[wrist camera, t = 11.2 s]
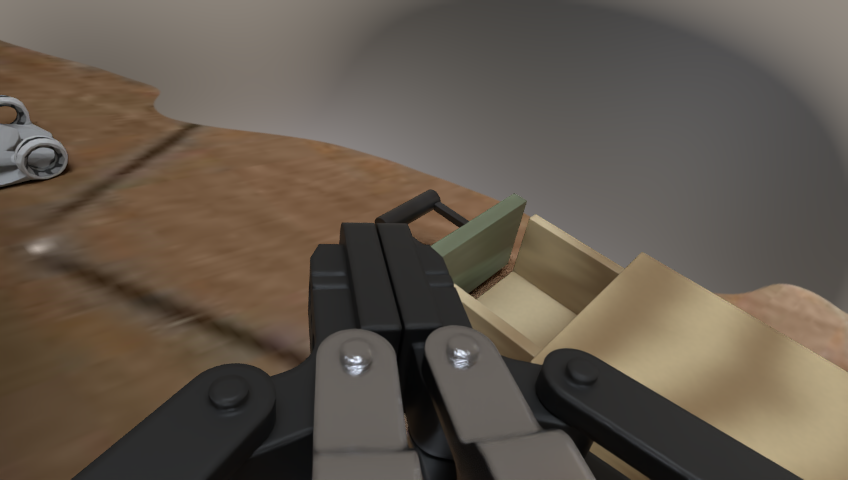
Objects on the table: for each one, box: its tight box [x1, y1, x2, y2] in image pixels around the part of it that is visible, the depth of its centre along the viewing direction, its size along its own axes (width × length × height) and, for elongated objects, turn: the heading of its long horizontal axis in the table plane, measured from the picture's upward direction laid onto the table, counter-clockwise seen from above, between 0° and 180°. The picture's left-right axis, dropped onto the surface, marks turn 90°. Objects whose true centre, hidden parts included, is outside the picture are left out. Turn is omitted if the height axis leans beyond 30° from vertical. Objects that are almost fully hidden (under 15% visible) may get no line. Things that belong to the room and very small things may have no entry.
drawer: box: [375, 190, 624, 362], centre depth 36 cm, size 20×12×6 cm, turn 46°
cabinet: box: [530, 252, 848, 480], centre depth 30 cm, size 15×13×8 cm
